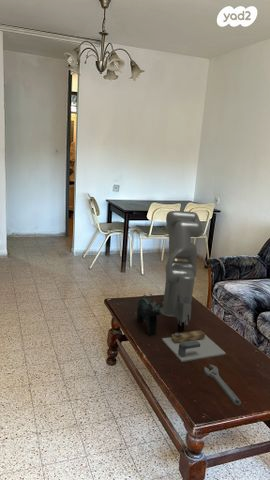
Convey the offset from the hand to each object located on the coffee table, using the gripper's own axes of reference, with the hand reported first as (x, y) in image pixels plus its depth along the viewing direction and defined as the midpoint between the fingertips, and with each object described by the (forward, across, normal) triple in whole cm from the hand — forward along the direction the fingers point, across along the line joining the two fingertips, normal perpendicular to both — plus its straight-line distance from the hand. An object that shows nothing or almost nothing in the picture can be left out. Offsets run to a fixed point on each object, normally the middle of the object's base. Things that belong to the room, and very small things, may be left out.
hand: (180, 331), depth 187 cm
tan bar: (+1, +6, +1) cm, 6 cm away
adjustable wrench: (+3, +41, -4) cm, 41 cm away
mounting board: (+2, +12, +1) cm, 12 cm away
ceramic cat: (+3, -11, -14) cm, 19 cm away
